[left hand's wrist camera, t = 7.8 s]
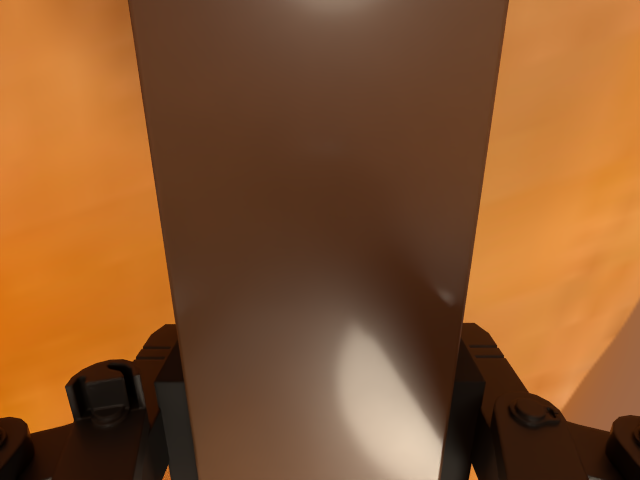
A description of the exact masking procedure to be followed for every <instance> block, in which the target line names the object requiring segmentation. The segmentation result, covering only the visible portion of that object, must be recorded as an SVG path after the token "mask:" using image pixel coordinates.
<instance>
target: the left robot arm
mask: <svg viewBox="0 0 640 480" xmlns="http://www.w3.org/2000/svg"><path fill="white" fill-rule="evenodd" d="M65 389H66V392H67V396H68V400H69V403H70V407H71V411H72V414H73V418H74V422H73V423H71V424H68V425H65V426H61V427H57V428H53V429H48V430H44V431H40V432H35V433H31V434H30V431H29V428H28V425H27V424H26V423H25V422H24V421H23V420H22V419H20V418H13V417H6V418H0V480H162V479H163V476H164V474H165V471H166V469H167V466H168V465H169V471H170V476H171V480H199V479H198V472H197V465H196V458H195V452H194V445H193V438H192V431H191V424H190V418H189V411H188V404H187V397H186V391H185V384H184V377H183V370H182V363H181V357H180V350H179V343H178V336H177V329H176V324H165V325H164V326H162V327H161V328H160V329H158V330H157V331H156V332H154V333H153V334H151V336H150V337H149V339H148V340H147V342H146V343H145V345H144V346H143V349H141V351H140V352H139V354H138V355H137V357H136V360H134V361H133V362H131V361H128V360H124V359H118V360H107V361H103V362H99V363H96V364H93V365H91V366H89V367H87V368H85V369H83V370H81V371H80V372H79V373H77V374H76V375H74V376H73V377H72V378H71V379H70V380H69V382H68V383H67V384H66V386H65ZM471 463H472V465H473V467H474V470H475V472H476V475H477V477H478V480H640V416H633V415H628V416H622V417H619V418H618V419H616V420H615V421H614V422H613V424H612V427H611V430H610V432H608V431H603V430H599V429H595V428H591V427H586V426H582V425H578V424H574V423H571V422H568V421H566V419H565V418H564V416H563V415H562V413H561V412H560V410H559V409H557V408H556V407H555V406H554V405H553V404H551V403H550V402H549V401H547V400H545V399H543V398H541V397H539V396H537V395H534V394H531V393H529V392H528V391H527V389H526V388H525V386H524V385H523V383H522V382H521V380H520V379H519V377H518V376H517V374H516V373H515V371H514V370H513V368H512V367H511V365H510V364H509V363H508V361H507V360H506V358H504V355H503V354H502V352H501V351H500V349H499V348H497V345H496V343H495V342H494V340H493V339H492V337H491V336H490V334H489V333H488V332H486V331H485V330H483V329H482V328H481V327H479V326H478V325H477V324H475V323H463V324H462V331H461V338H460V345H459V352H458V359H457V366H456V373H455V380H454V387H453V394H452V401H451V408H450V415H449V422H448V429H447V436H446V443H445V450H444V457H443V464H442V471H441V478H440V480H469V475H470V469H471Z"/></svg>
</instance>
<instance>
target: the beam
mask: <svg viewBox="0 0 640 480" xmlns="http://www.w3.org/2000/svg"><path fill="white" fill-rule="evenodd" d="M508 3H509V0H128V4H129V10H130V17H131V24H132V31H133V38H134V44H135V51H136V58H137V65H138V71H139V78H140V85H141V92H142V99H143V105H144V112H145V119H146V126H147V133H148V139H149V146H150V153H151V160H152V166H153V173H154V180H155V187H156V194H157V200H158V207H159V214H160V221H161V228H162V234H163V241H164V248H165V255H166V262H167V268H168V275H169V282H170V289H171V295H172V302H173V309H174V316H175V323H176V329H177V336H178V343H179V350H180V357H181V363H182V370H183V377H184V384H185V391H186V397H187V404H188V411H189V418H190V424H191V431H192V438H193V445H194V452H195V458H196V465H197V472H198V479H199V480H440V478H441V471H442V464H443V457H444V450H445V443H446V436H447V429H448V422H449V415H450V408H451V401H452V394H453V387H454V380H455V373H456V366H457V359H458V352H459V345H460V338H461V331H462V324H463V317H464V310H465V303H466V296H467V289H468V282H469V275H470V268H471V261H472V254H473V247H474V240H475V233H476V226H477V219H478V213H479V206H480V199H481V192H482V185H483V178H484V171H485V164H486V157H487V150H488V143H489V136H490V129H491V122H492V115H493V108H494V101H495V94H496V87H497V80H498V73H499V66H500V59H501V52H502V45H503V38H504V31H505V24H506V17H507V10H508Z"/></svg>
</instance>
